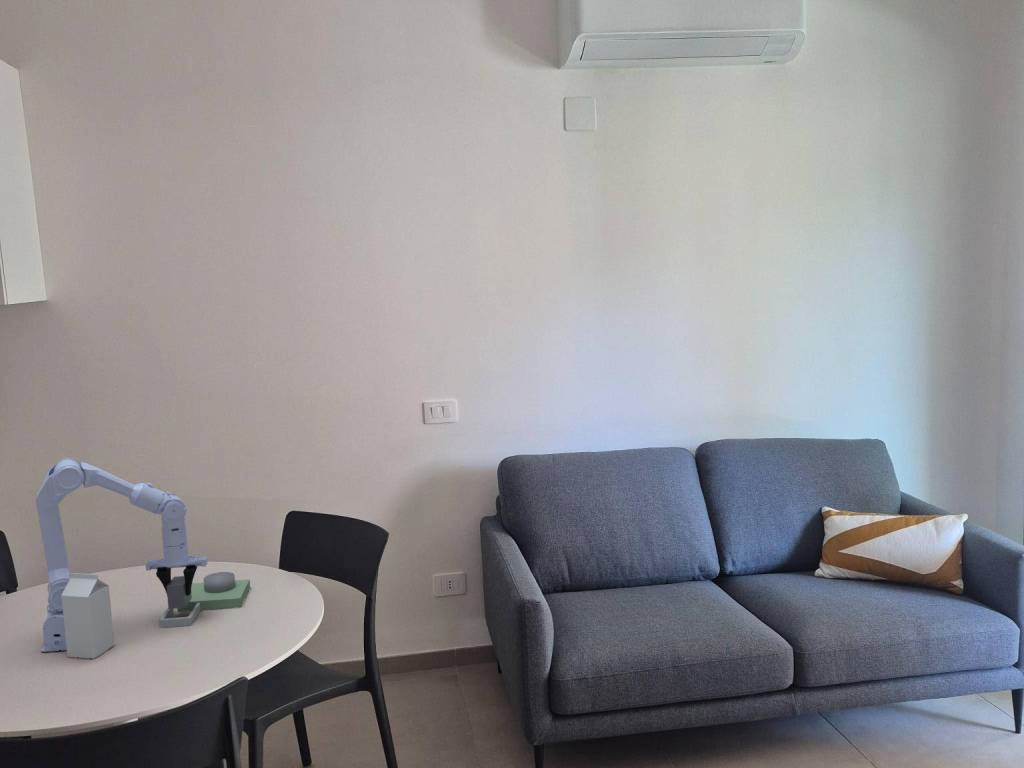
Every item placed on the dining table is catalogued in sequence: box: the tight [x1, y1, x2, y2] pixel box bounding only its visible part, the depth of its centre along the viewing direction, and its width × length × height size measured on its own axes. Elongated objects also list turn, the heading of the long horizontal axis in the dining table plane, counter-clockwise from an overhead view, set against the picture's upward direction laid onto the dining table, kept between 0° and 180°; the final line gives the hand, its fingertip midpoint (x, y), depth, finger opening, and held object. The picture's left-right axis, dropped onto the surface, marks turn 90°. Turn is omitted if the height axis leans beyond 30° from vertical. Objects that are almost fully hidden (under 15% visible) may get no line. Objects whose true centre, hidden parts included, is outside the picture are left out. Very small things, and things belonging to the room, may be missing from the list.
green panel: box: [158, 571, 251, 629], centre depth 223 cm, size 24×18×6 cm
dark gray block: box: [166, 575, 192, 610], centre depth 216 cm, size 7×4×6 cm, turn 7°
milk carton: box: [61, 572, 115, 660], centre depth 197 cm, size 7×7×19 cm
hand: (179, 594), depth 216 cm, fingers closed on dark gray block, 4 cm apart
